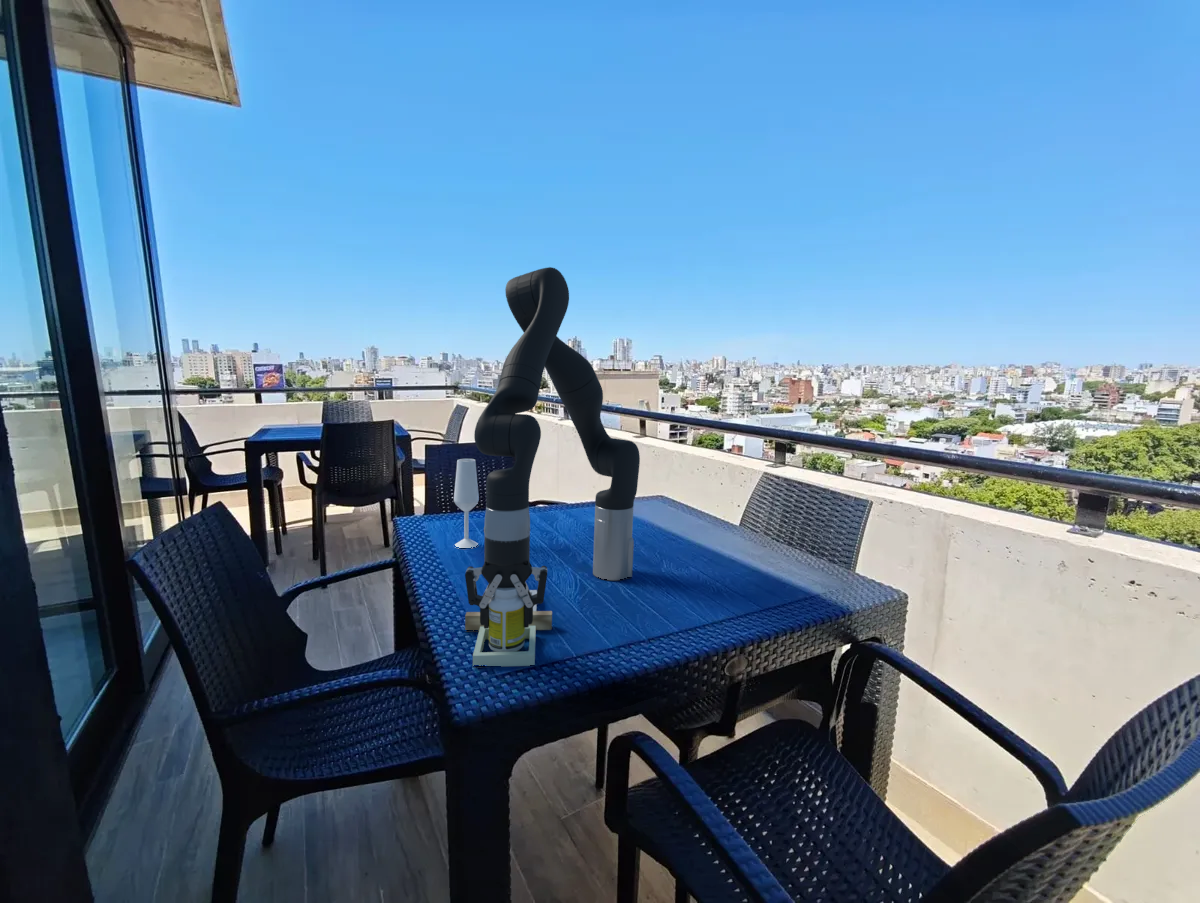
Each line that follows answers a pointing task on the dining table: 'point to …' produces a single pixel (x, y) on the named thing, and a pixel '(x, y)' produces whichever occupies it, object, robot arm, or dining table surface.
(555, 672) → the dining table surface
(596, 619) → the dining table surface
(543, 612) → the edge strip
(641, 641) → the dining table surface
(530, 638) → the keeper
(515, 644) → the pill bottle
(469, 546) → the champagne flute
